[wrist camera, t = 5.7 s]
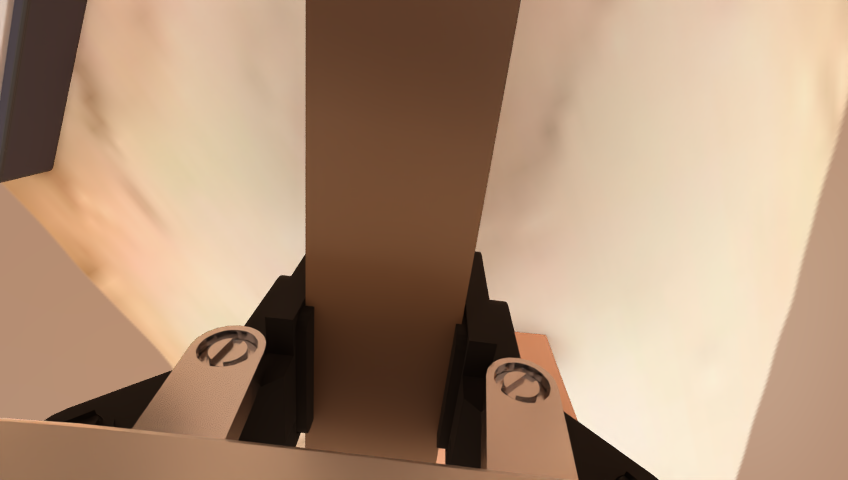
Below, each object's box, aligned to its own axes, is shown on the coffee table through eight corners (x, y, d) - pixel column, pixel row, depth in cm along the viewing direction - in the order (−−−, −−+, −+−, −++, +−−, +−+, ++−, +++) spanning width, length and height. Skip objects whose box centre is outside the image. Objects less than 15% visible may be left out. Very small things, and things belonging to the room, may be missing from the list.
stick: (367, -95, 9) (306, -201, 5) (505, -78, 9) (551, -169, 5) (339, 473, 17) (305, 611, 13) (416, 482, 17) (406, 623, 13)
